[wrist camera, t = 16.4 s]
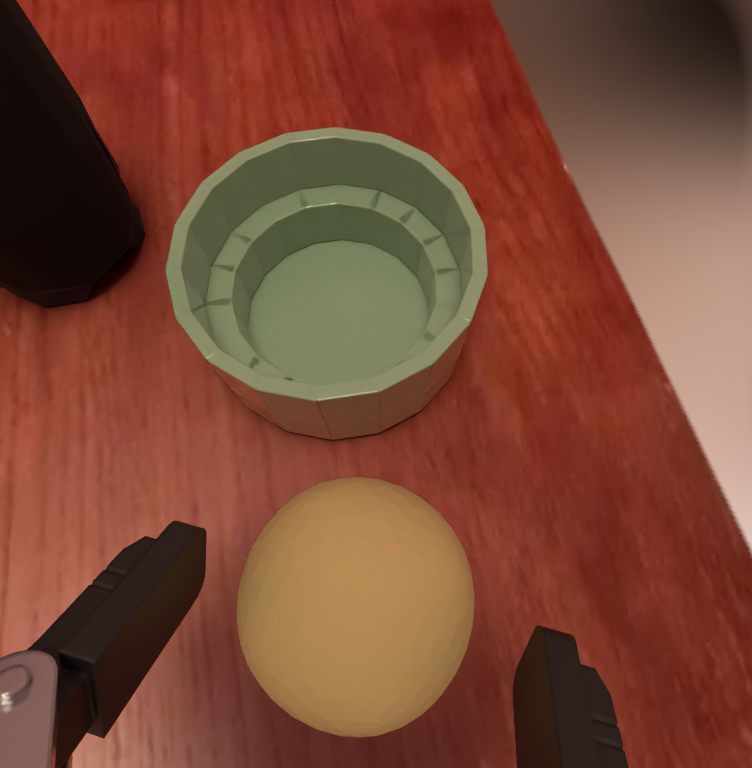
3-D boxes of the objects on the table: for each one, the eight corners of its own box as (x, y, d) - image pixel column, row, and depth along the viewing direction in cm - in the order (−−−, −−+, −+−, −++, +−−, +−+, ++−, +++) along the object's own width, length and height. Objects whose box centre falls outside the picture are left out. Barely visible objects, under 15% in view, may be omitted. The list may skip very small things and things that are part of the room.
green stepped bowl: (512, 309, 24) (552, 232, 19) (346, 498, 21) (333, 474, 16) (335, 183, 27) (322, 84, 22) (165, 333, 24) (99, 263, 18)
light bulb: (258, 623, 20) (144, 678, 10) (333, 479, 21) (294, 415, 12) (402, 705, 18) (422, 852, 9) (467, 547, 20) (538, 533, 11)
